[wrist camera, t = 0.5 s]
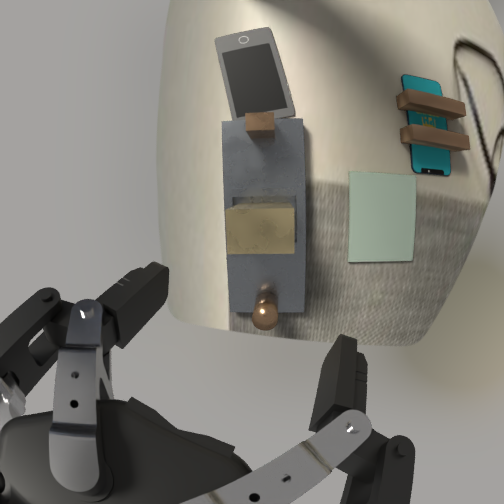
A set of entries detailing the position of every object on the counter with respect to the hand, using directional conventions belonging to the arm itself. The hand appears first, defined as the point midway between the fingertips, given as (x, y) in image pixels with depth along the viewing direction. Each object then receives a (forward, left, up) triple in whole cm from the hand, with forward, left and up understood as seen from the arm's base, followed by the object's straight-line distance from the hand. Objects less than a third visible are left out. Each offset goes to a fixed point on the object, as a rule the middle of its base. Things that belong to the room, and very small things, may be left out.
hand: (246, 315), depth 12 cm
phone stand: (-15, +24, -25) cm, 38 cm away
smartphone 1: (-21, -1, -26) cm, 34 cm away
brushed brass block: (-1, 0, -23) cm, 23 cm away
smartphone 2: (-15, +24, -26) cm, 39 cm away
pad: (-1, +16, -25) cm, 30 cm away
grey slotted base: (-1, 0, -25) cm, 25 cm away
